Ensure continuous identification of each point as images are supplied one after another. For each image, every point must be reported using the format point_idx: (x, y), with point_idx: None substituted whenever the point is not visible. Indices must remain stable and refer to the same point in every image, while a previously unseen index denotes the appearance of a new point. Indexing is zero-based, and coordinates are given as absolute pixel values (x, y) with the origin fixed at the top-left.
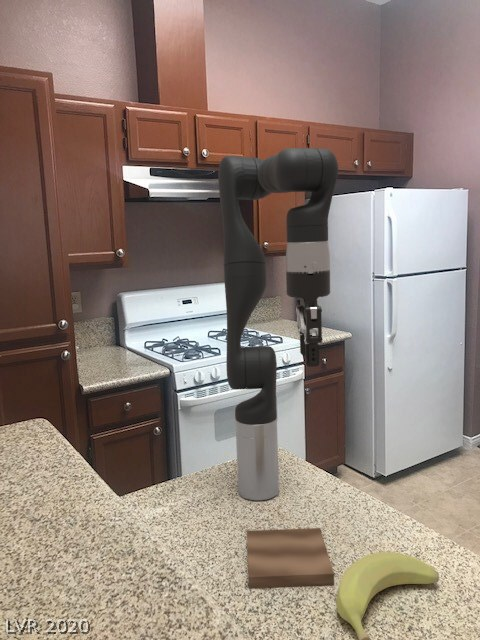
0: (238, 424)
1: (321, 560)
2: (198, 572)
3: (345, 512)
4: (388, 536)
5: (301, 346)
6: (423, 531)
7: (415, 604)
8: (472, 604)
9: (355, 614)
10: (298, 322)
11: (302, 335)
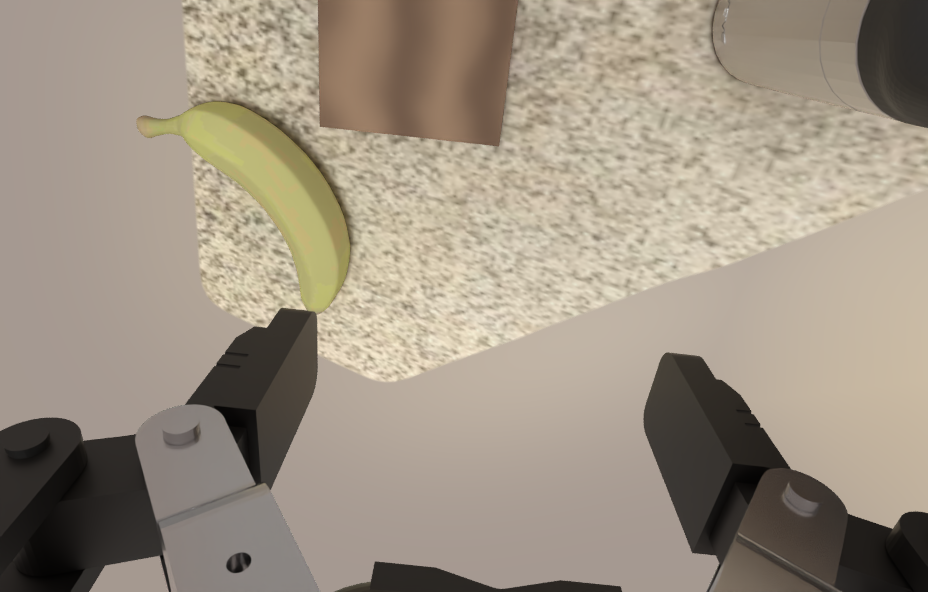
0: None
1: (368, 112)
2: None
3: (590, 228)
4: (475, 281)
5: (688, 395)
6: (479, 347)
7: (268, 247)
8: None
9: (176, 128)
10: (716, 588)
11: (726, 480)
